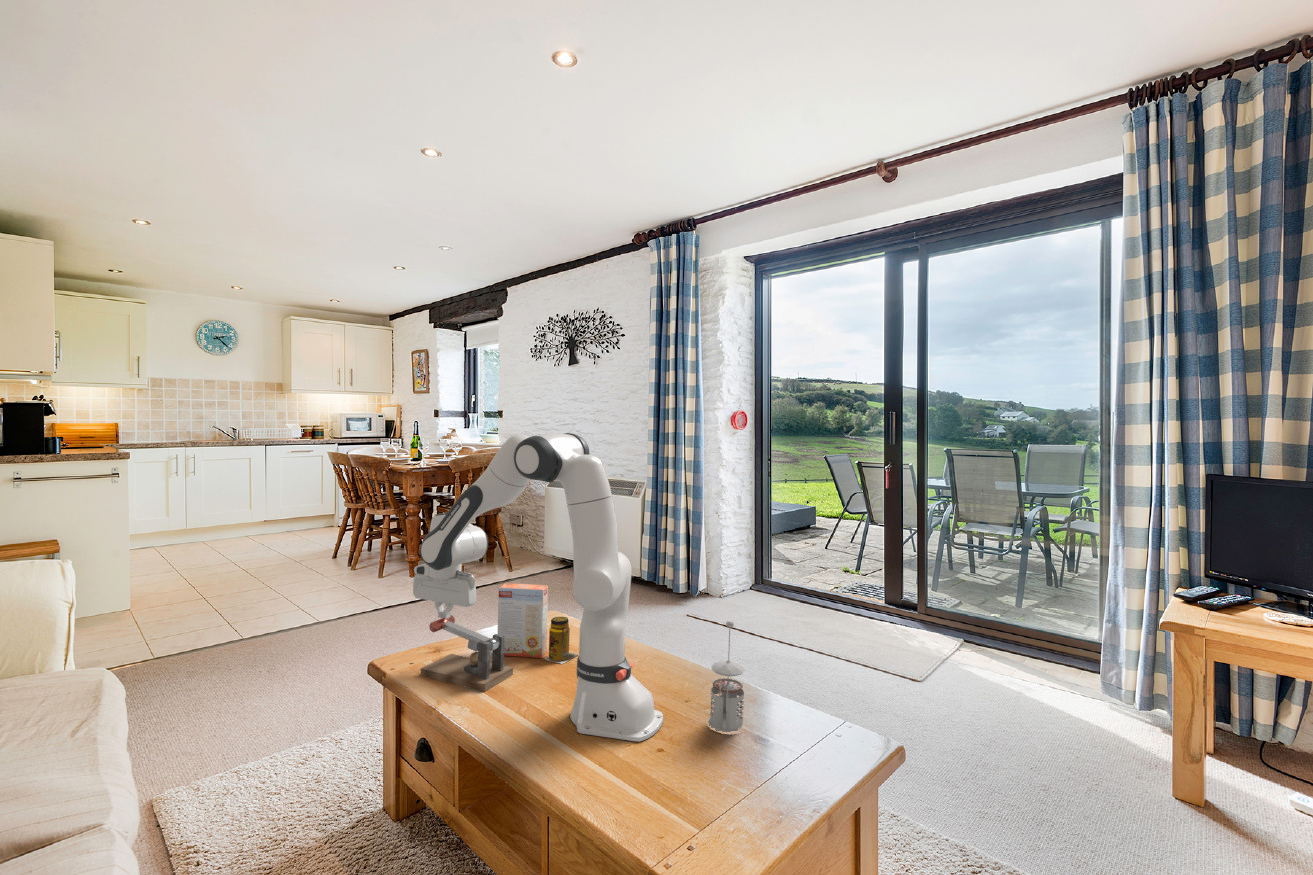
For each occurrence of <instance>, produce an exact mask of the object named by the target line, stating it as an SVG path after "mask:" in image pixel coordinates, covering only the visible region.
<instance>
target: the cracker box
mask: <svg viewBox="0 0 1313 875" xmlns="http://www.w3.org/2000/svg"><path fill="white" fill-rule="evenodd" d="M548 595H549V586H548V584H547V585H546V584H530V583H529V584H528V583H512V582H511V583H507V582H506V583H503V584H502V585H501V586H499V587H498V600H497V601H498V603H497V605H498V606H497V607H498V608H497V634H498V635H503V636H504V657H507V656H508V657H522V658H536V659H537V658H538V659H541V658H542V657H544V655H545V654H546V653H547V651H548V650H547V649H548V648H547V647H548V607H549V606H548V605H549V604H548V602H549V596H548ZM542 659H543V658H542Z"/></svg>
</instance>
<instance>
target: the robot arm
mask: <svg viewBox="0 0 1313 875" xmlns="http://www.w3.org/2000/svg"><path fill="white" fill-rule="evenodd" d="M531 480H534V481H538V482H539V481H540V482H546V483H553V482H554V481H557V482H559V483H560V484H561V486H562V488H563V490H564V491H563V492H564V494H565V500H566V501H565V502H566V507H567V511H568V516H569V517H568V518H569V524H570V529H571V534H572V543H573V544H572V547H573V549H572V552H573V553H572V556H573V558H572V559H573V578H574V579H573V587H572V594H573V596H574V599H575V601H576V603H577V604H578V605H579V606H580V607H582V608H583V612H582V618H581V622H580V623H579V646H578V647H579V648H578V650H579V651H578V654H579V655H577V656H578V657H576V658H577V660H576V678H577V682H576V692H575V695H574V696H575V697H574V701H573V706H572V708H571V712H570V720H571V721H572V723H573V724H574V725H575V726H576V731H577V733H579V734H583V735H588V736H589V735H590V736H595V737H596V736H597V737H603V738H604V737H605V738H610V739H611V738H612V739H617V740H626V741H632V742H642V741H645V740H647V739H649V738H651V737H652V736H654V735H655V734H656V733H657V732H658V731H659V730H660V728H661V727H662V726H663V724H662V723H664V714H663V712H662V711H659V710H657V709H655V703H654V698H653V694H652V693H651V692H650V691H649V690H648V689H647V688H646V687H645V686H644V685H643V684H642V683H641V682H640V681H639V680H638V679H637V678H635V676H634V675H633V674H632V669H634V668H633V667H635V665H634V663H635V662H634V661H632V662H631V663H629V662H628V659H627V658H626V655H625V653H626V628H627V618H628V612H629V611H628V610H629V604H630V594H631V583H632V574H633V571H632V570H633V569H632V564H631V561H630V560H629V558H628V557H627V556H626V555H625V554H624V553H623V552H621V551H619V547H618V546H619V545H618V544H619V543H618V530H619V527H618V526H619V525H618V522H617V515H616V511H615V506H614V500H613V493H612V489H611V485H610V481H609V479H608V475H607V472H606V470H605V468H604V464H603V463H602V461H601V460H600V458H598V457H597V456H595V455H592V454H590V447H589V445H588V443H587V441H586V439H585V438H583V437H582V436H580V435H578V434H575V433H570V432H566V433H554V432H551V433H544V434H540V435H533V436H529V435H526V434H521V433H518V434H514V435H511V436H510V437H508V439H506V441H505V442H504V443H503V444H502V445H501V447H500V448H499V449H498V450H497V452H495V455H494V456H493V457H492V459H491V461H490V463H489V464H488V466H487V468H486V469H485V470H484V471H483V472H482V474H481V475H480V476H479V477H478V479H476V480H475V482H473V483H472V484H471V485H470V486H468V487H467V488H466V489H465V490H464V491H463V492H462V493H461V495H459V497H458V498H457V499H456V501H455V502H454V503H453V505H452V506H451V508H449V510H448V511H447V512H442V513H437V514H435V515H433V516H432V518H431V522H430V526H429V531H428V533H427V534H426V535H425V537H424V538H423V540H422V543H421V545H420V557H421V559H422V561H423V564H420V565H416V566H414V569H413V570H414V572H413V573H414V574H415V575H414V576H413V582H412V594H413V596H414V598H415V599H419V600H426V601H429V602H434V607H435V609H436V610H437V617H438V618H440V619H442V618H445V619H447V618H450V615H451V612H452V610H453V609H454V606H459V607H463V608H464V607H465V608H468V607H472V606H474V605H475V604H476V602H477V588H476V587H477V586H476V578H475V576H474V575H472V573H471V572H468V571H462V566H463V564H466V563H471V562H474V561H477V560H479V559H482V558H484V556H485V555H486V554H487V551H488V549H489V539H488V535H487V533H486V531H485V530H484V529H483V528H482V527H480V526H475V525H473V524H472V521H473V520H475V519H476V518H477V517H479V516H481V515H482V514H484V513H486V512H489V511H491V510H494V509H497V508H502V507H503V506H506V505H510V504H512V503H513V502H514V501H516V500H517V498H519V497H520V496H521V494H522V493H523V492H524V491H525V489H526V488H527V486H528V484H529V482H530V481H531Z"/></svg>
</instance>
